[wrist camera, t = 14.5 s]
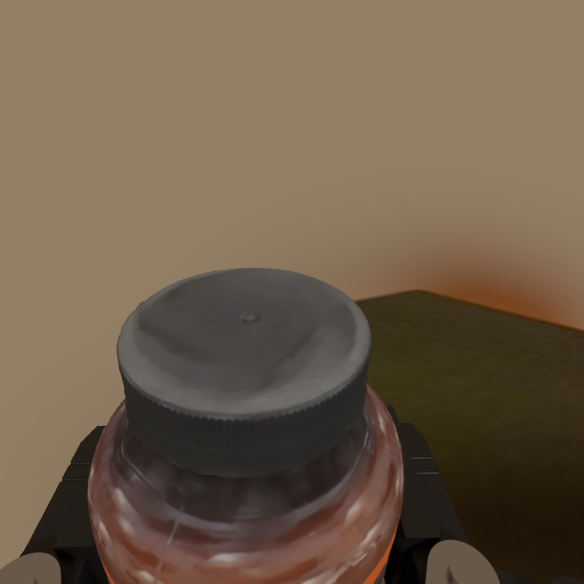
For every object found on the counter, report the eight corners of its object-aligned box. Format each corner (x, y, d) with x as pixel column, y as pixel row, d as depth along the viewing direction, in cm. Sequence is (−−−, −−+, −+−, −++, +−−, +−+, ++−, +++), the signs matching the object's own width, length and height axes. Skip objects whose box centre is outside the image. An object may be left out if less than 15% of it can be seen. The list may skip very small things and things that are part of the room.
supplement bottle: (361, 550, 14) (430, 263, 8) (347, 831, 8) (504, 573, 3) (205, 511, 15) (171, 233, 9) (108, 741, 10) (-105, 423, 4)
